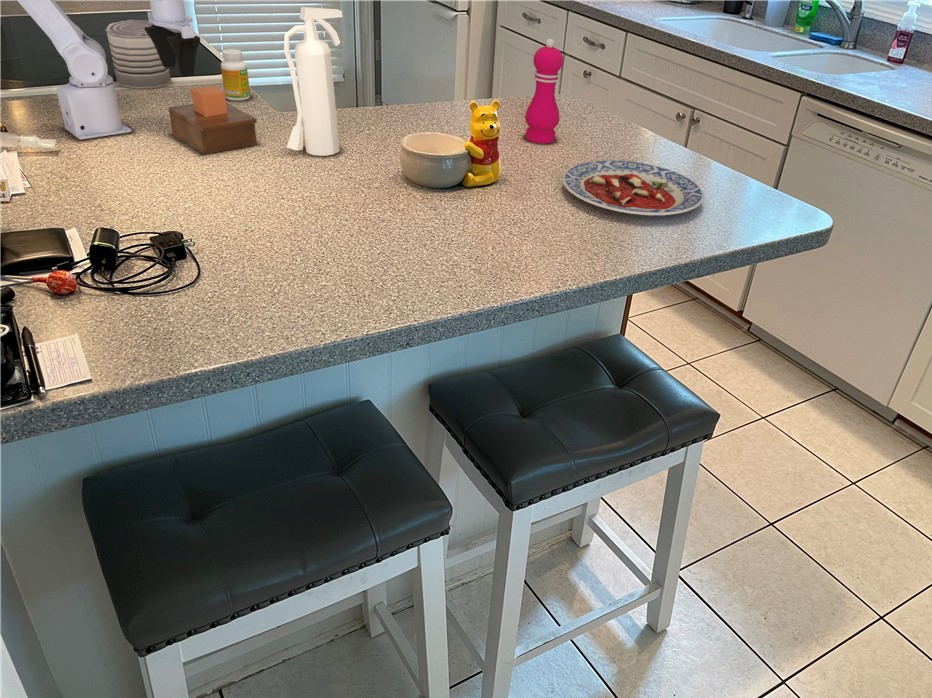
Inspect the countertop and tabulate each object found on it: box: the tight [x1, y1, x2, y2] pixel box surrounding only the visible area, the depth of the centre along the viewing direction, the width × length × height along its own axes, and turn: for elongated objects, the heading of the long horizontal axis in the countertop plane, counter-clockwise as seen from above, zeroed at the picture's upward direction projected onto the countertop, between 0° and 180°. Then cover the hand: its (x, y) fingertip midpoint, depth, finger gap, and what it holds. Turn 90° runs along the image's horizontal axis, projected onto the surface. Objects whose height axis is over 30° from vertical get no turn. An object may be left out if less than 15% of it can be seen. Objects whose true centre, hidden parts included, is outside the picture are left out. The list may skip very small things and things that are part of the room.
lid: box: [168, 102, 257, 131], centre depth 145 cm, size 14×11×1 cm
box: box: [168, 111, 258, 155], centre depth 147 cm, size 13×11×4 cm
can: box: [104, 19, 172, 90], centre depth 171 cm, size 11×11×12 cm
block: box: [190, 85, 227, 117], centre depth 144 cm, size 4×4×4 cm
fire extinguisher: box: [283, 6, 343, 157], centre depth 140 cm, size 7×12×25 cm, turn 123°
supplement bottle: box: [220, 48, 251, 102], centre depth 168 cm, size 5×5×10 cm
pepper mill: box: [524, 38, 564, 145], centre depth 159 cm, size 7×7×20 cm
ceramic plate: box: [561, 159, 705, 216], centre depth 140 cm, size 26×26×3 cm
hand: (178, 71), depth 147 cm, fingers open, 7 cm apart
